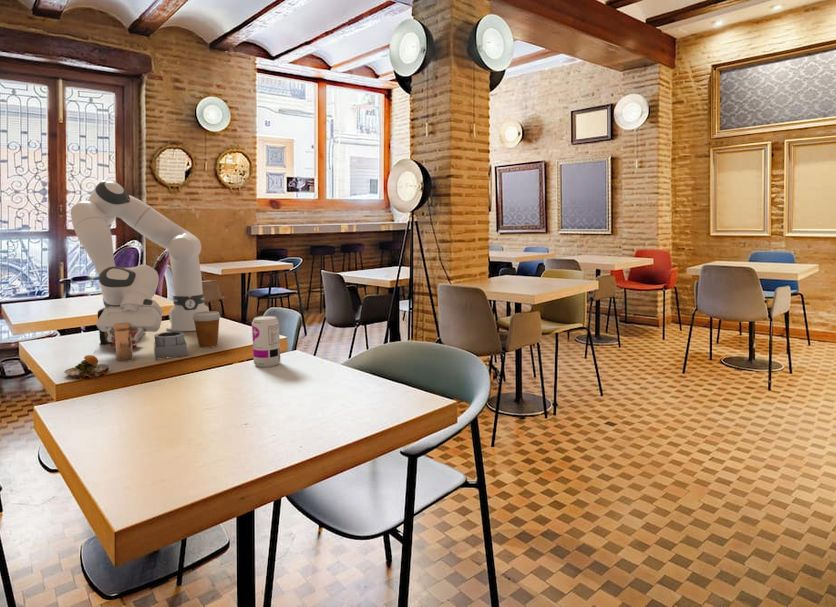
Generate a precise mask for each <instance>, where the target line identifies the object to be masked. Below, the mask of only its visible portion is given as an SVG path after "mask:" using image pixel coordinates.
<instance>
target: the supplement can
mask: <svg viewBox="0 0 836 607" xmlns="http://www.w3.org/2000/svg"><path fill="white" fill-rule="evenodd" d="M251 334H252V336H251V337H252V353H253V354H252V355H253V364H254V365H255V366H256V367H260V368H271V366H272V367H276V366H278V365H279V364H280V363H281V345H280V341H281V339H280V338H281V337H280V321H279V319H278V318H277V316H274V315H262V316H256V317H254V318H253V320H252V322H251ZM275 365H276V366H275Z"/></svg>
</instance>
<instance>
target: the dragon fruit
mask: <svg viewBox="0 0 836 607" xmlns="http://www.w3.org/2000/svg"><path fill="white" fill-rule="evenodd" d="M136 333H137V332H131V338H132V335H135V334H136ZM112 335H113V336H114V337H115V334H112ZM141 338H142V336H141V337H140V338H139V340H141ZM139 340H138V342H139ZM138 342H132V349H133V348H136V347H138V345H137V344H138ZM109 344H110V346H109V347H112V348H114V347H115V348H116V345H115V340H114V342H109Z"/></svg>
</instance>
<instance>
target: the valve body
mask: <svg viewBox="0 0 836 607" xmlns="http://www.w3.org/2000/svg"><path fill="white" fill-rule="evenodd" d="M185 338H186V337H185V331H163V332H159V333H155V334H154V341H153V351H154V352H153V353H154V360H159V359H158V358H164V359H168V358H167V357H173V358H179V357H178V356H183V357H188V356H189V355H188V343H187V342H186V339H185Z"/></svg>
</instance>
